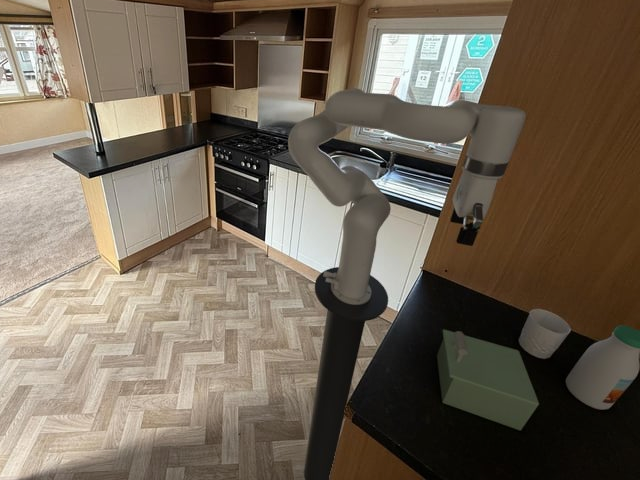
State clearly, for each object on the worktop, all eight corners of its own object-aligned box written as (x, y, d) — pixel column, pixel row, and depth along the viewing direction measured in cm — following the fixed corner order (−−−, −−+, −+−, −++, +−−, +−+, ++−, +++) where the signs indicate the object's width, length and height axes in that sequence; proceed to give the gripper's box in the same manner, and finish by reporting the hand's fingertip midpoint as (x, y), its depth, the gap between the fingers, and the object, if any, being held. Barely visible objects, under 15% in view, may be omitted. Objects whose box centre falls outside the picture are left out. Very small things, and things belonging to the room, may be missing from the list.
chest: (442, 402, 70) (453, 378, 66) (436, 355, 81) (446, 332, 77) (520, 430, 65) (537, 406, 61) (503, 376, 76) (517, 352, 72)
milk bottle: (581, 408, 69) (629, 348, 60) (556, 375, 76) (596, 316, 67) (620, 413, 68) (675, 353, 59) (591, 379, 75) (636, 320, 66)
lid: (449, 376, 67) (456, 361, 64) (442, 331, 77) (448, 316, 75) (537, 406, 61) (548, 390, 59) (517, 352, 72) (526, 337, 70)
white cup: (561, 361, 79) (580, 334, 75) (531, 361, 79) (547, 334, 75) (536, 334, 86) (551, 308, 82) (508, 334, 86) (522, 308, 82)
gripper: (457, 151, 75) (438, 212, 83) (471, 178, 61) (447, 249, 68) (494, 155, 72) (471, 218, 80) (518, 184, 58) (487, 257, 66)
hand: (460, 232), depth 74 cm, fingers open, 9 cm apart
